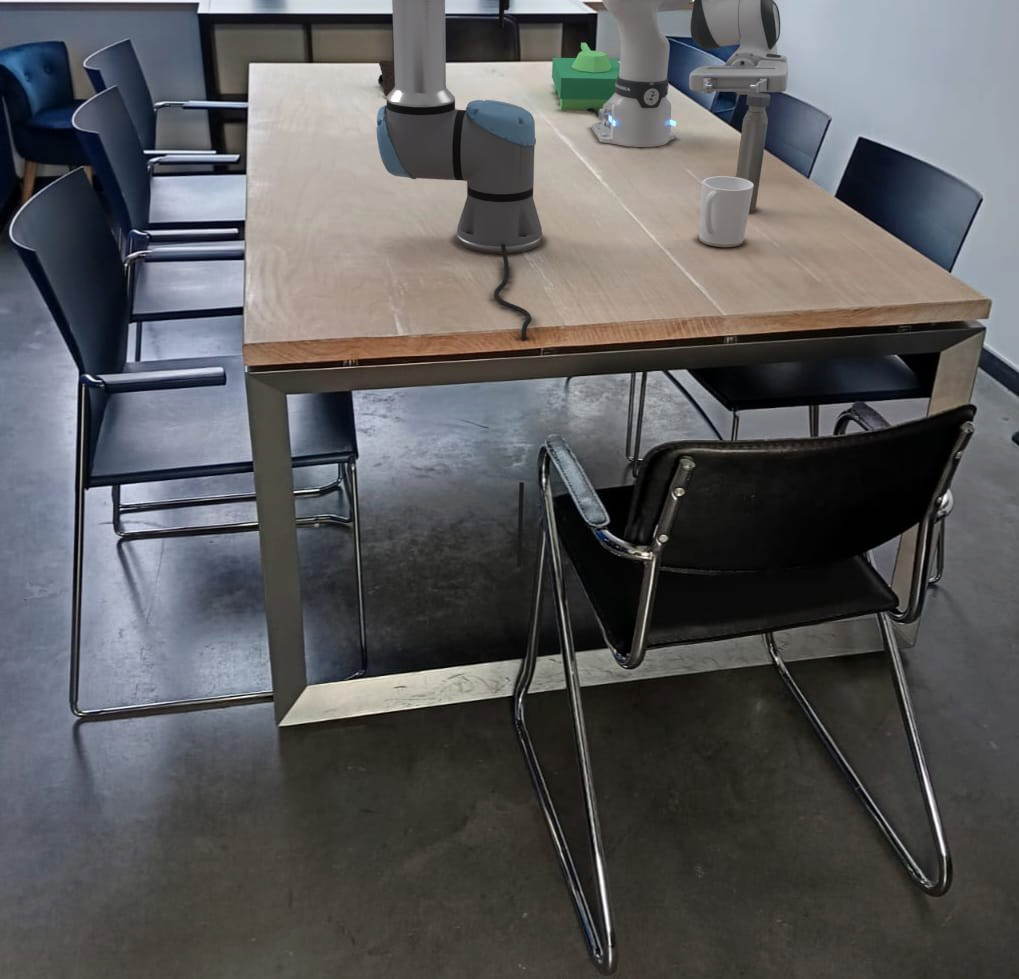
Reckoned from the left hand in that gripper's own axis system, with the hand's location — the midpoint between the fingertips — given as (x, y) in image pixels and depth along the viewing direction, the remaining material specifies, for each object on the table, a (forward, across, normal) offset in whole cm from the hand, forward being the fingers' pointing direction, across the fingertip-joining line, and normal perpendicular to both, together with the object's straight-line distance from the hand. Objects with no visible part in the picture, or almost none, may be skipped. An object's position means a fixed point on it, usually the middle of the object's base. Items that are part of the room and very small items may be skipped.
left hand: (468, 26), depth 224 cm
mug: (+28, -52, +43) cm, 73 cm away
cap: (+7, -58, +22) cm, 63 cm away
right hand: (+10, -54, +2) cm, 55 cm away
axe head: (+28, +29, -69) cm, 80 cm away
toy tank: (+28, -21, -71) cm, 79 cm away
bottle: (+28, -58, +22) cm, 68 cm away
